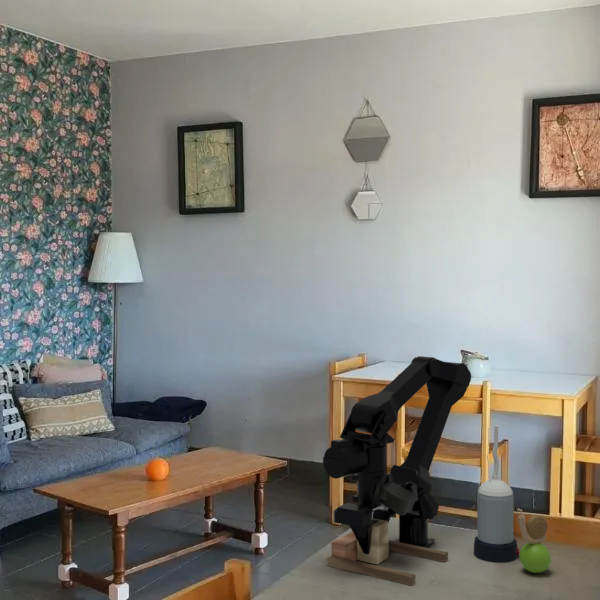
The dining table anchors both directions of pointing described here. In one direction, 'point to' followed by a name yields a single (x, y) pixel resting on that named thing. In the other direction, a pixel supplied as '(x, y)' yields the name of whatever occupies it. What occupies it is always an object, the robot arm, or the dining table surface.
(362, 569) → the guide track
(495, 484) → the humidifier
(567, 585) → the dining table surface
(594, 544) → the dining table surface
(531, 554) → the snail figurine
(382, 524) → the block
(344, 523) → the robot arm
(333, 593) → the dining table surface
